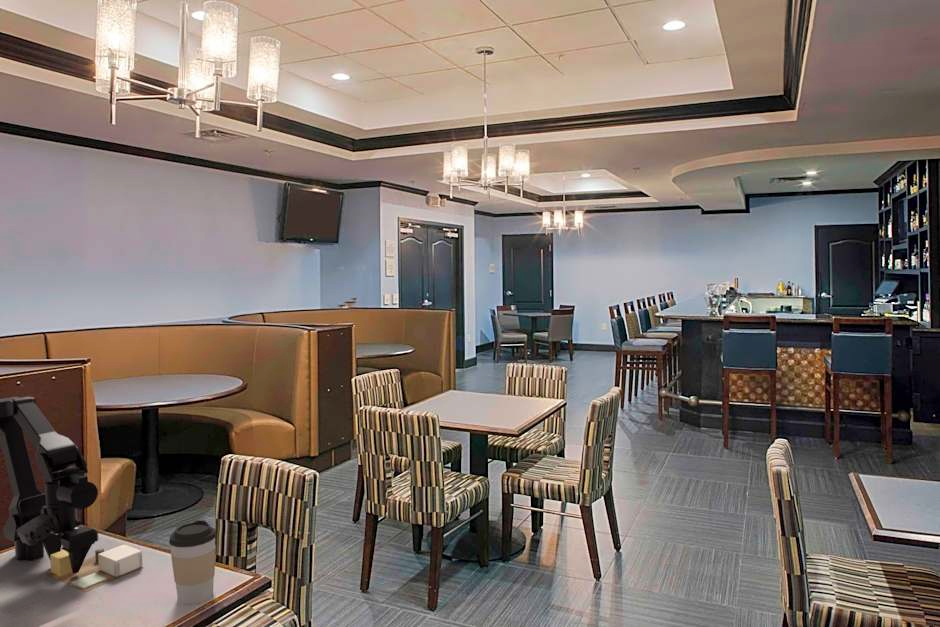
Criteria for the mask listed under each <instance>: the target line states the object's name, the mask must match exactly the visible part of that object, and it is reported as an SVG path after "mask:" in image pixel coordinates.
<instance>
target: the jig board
mask: <svg viewBox="0 0 940 627" xmlns="http://www.w3.org/2000/svg"><path fill="white" fill-rule="evenodd" d="M105 551H106V550H105V548H98V549H95V551H94V554H95V555H93V556H91V557H88V558H85V559H84V561H83V564H82V566H81V568H80V570H79V572H78V573H75V574H73V572H71V573H68V574H66V575H63V576H58V575H56V574H54V573H52V572H51V571H50V572H48V573H46V575H47V576H50V577H52V578H53V579H56V580H58V581H60V582H62V583H64V584H67V585H68V586H71V587H73V588H76V589H77V590H78V591H79V590H80V591H82V592H84V593H86V592H90V591H91V590H93V589H96V588H99V587H101V586H103V585H105V584H108V583H110V582H113V581H115V580H117V579H121V578H123V577H125V576H128V575H130V574H132V573H135V572H137V571H140V570H142V569H144V566H142V567H140V568H137V569H135V570H132V571H130V572H127V573H125V574H123V575H120V576H118V577H115V576H113V575H111V574H108V573H106V572H104V571H101V570H99V561H98V554H99V553H102V552H105ZM93 573H96V574H98V575H101V576H103V577H105V578H107V580H105V581H102V582H100V583H98V584H95V585H93V586H90V587H88V588H85V589H82V588H80V587H78V586H76V585H74V584H71V582H73V581H75V580H78V579H80V578H83V577H85V576H88V575H90V574H93Z"/></svg>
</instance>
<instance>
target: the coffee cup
mask: <svg viewBox="0 0 940 627" xmlns="http://www.w3.org/2000/svg"><path fill="white" fill-rule="evenodd" d="M216 537H217V533H216V529H215V527H213V526H211V525H210V524H209V523H208V522H207V521H206V520H202V519H201V520H200V519H198V520H195V521H193V522H189V523H185V524H182V525H179V526H177V527H176V528H175V530H174V531H173V532H172V533H171V534H170V535H169V542H168V544H169V545H170V550H171V553H170V557H171V558H170V559H171V565H172V572H173V578H174V583H175V588H176V589H175V590H176V597H177V602H178V601H179V602H178V603H179V604H182V603H183V605H196V603H197V604H201V603H204V602H206V601H208V600H209V599H211V598H212V597H213V595H214V583H215V582H214V581H215V580H214V579H215V575H216V573H215V570H216V549H217V548H216Z"/></svg>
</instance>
